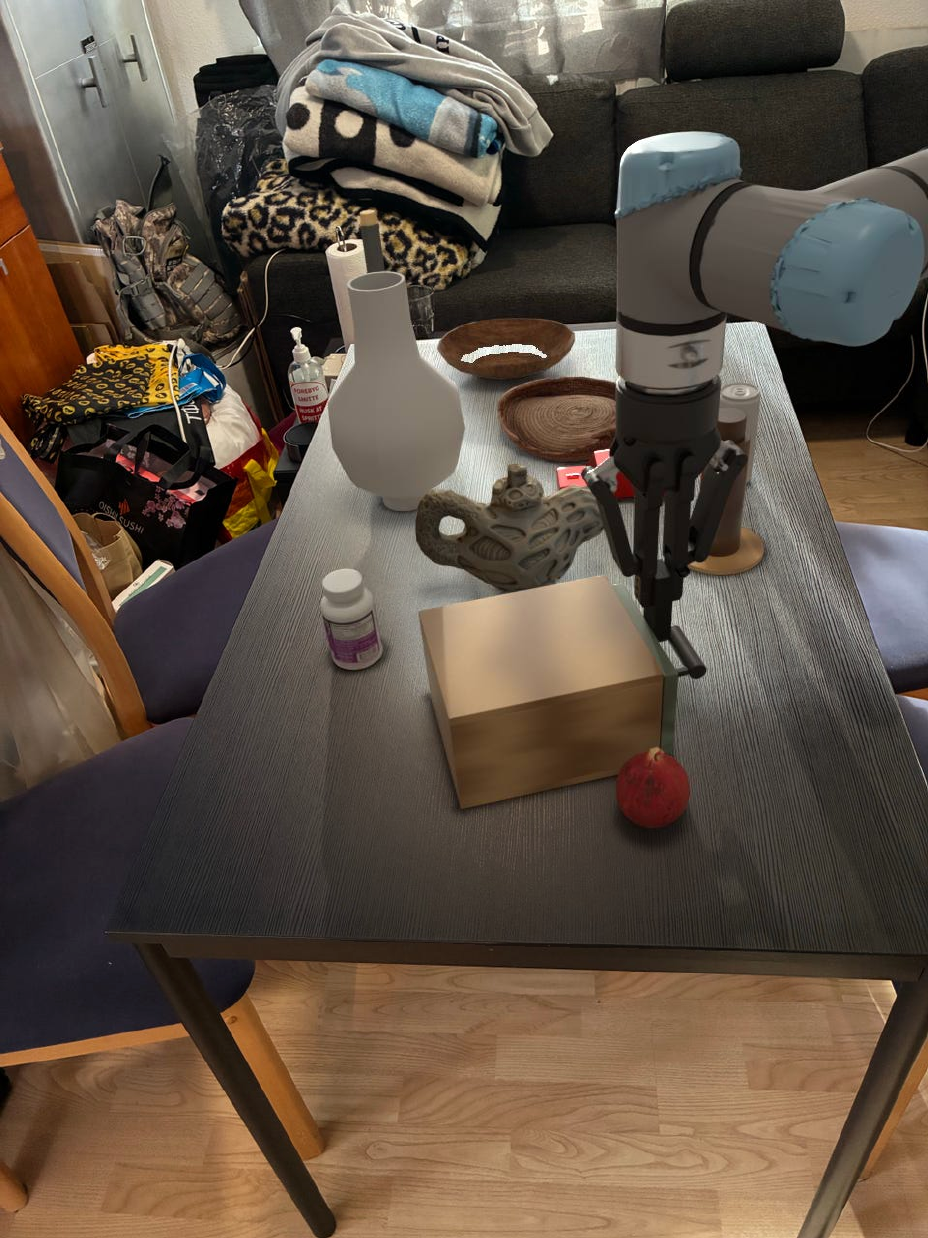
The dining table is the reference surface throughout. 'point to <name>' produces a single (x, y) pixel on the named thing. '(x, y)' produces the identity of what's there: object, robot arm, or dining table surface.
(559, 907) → the dining table surface
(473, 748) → the cabinet
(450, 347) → the bowl
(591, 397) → the basket
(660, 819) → the red pomegranate
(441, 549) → the teapot
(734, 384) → the beverage can
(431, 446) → the vase
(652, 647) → the drawer
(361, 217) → the wine bottle
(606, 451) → the toy car
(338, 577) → the pill bottle
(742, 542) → the coaster
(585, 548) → the dining table surface
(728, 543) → the pepper mill
